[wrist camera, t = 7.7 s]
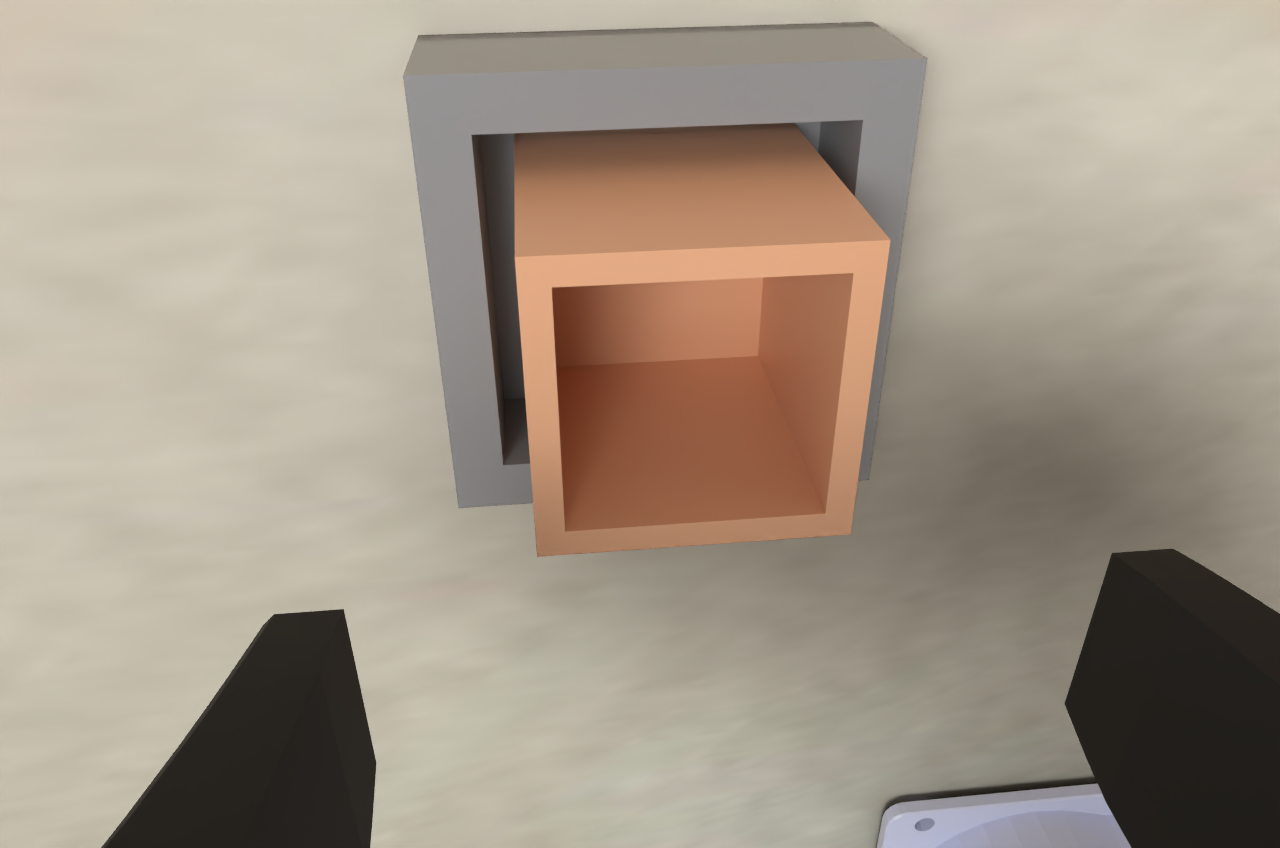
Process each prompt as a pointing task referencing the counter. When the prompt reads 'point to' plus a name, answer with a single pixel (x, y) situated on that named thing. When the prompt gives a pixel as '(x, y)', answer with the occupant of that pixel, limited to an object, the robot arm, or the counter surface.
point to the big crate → (622, 99)
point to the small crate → (692, 335)
